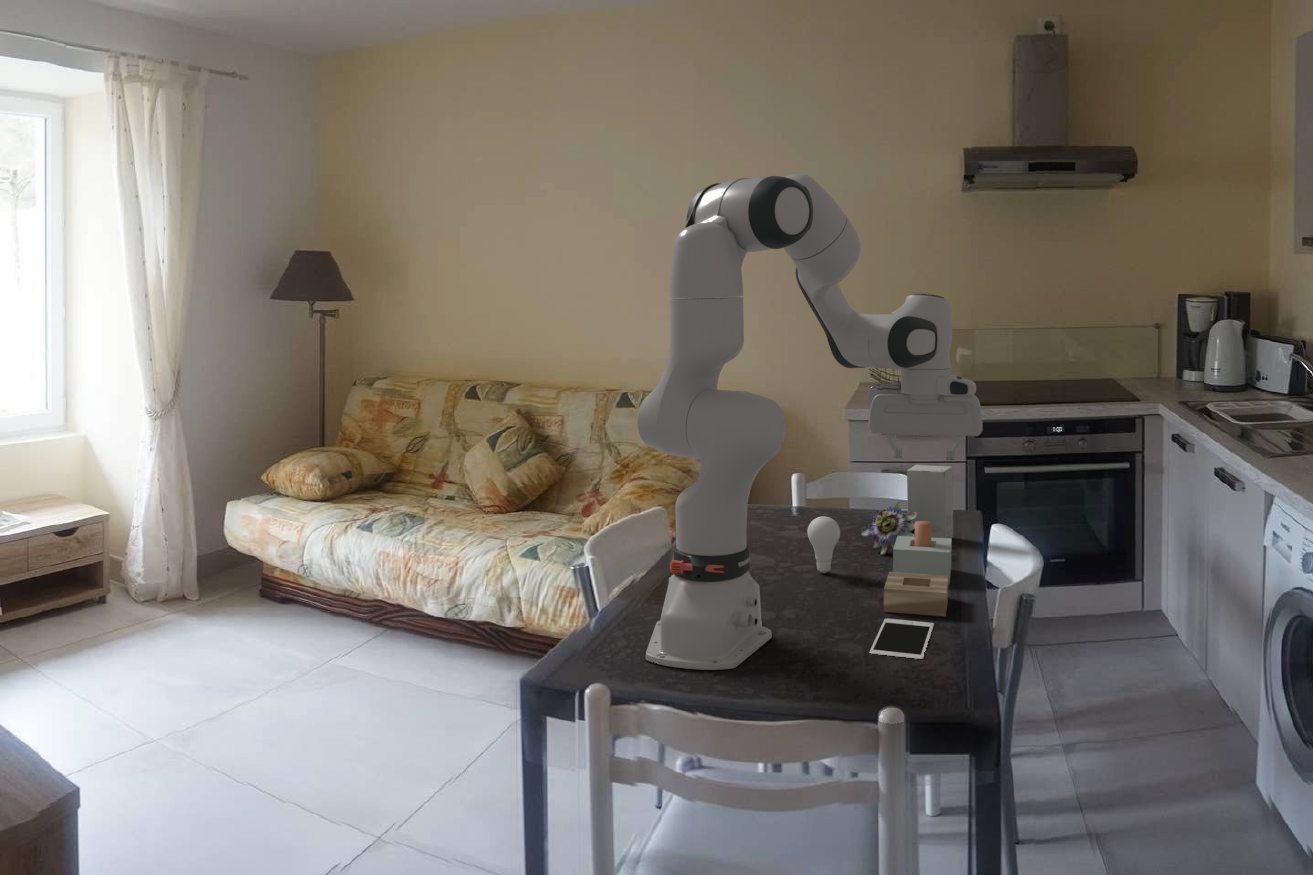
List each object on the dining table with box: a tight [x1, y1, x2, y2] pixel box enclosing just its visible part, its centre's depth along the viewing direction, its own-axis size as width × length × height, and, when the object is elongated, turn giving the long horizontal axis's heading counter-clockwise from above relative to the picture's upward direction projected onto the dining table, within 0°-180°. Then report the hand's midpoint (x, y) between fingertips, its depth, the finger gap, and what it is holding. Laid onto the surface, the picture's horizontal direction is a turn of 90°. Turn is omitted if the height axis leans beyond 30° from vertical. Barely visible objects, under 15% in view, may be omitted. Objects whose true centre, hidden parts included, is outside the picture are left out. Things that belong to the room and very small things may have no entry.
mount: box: [883, 571, 949, 617], centre depth 168 cm, size 10×10×4 cm
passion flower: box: [860, 501, 917, 556], centre depth 202 cm, size 11×11×12 cm
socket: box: [892, 536, 952, 585], centre depth 185 cm, size 10×10×6 cm
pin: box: [915, 521, 932, 547], centre depth 185 cm, size 3×3×10 cm
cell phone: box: [869, 618, 935, 660], centre depth 153 cm, size 8×16×1 cm, turn 159°
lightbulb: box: [806, 515, 841, 574], centre depth 188 cm, size 6×6×11 cm
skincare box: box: [906, 464, 954, 539], centre depth 210 cm, size 8×7×16 cm
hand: (924, 458), depth 182 cm, fingers open, 8 cm apart
